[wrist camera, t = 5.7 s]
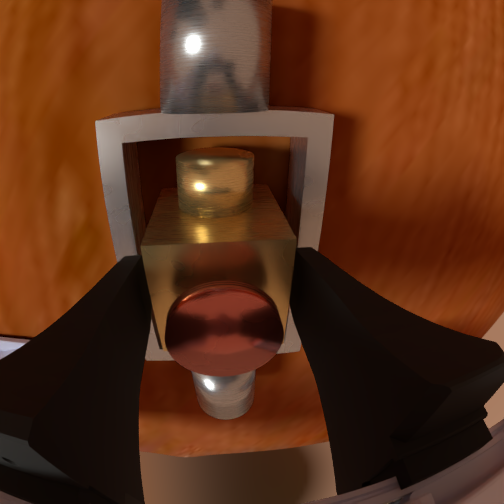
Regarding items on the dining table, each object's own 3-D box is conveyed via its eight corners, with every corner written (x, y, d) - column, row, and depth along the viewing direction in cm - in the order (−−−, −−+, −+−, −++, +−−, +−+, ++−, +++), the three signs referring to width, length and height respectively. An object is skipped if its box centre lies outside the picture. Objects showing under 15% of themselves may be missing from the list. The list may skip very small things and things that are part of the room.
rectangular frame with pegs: (163, 375, 17) (161, 421, 14) (113, 11, 7) (81, -10, 4) (282, 368, 18) (294, 412, 15) (317, 9, 8) (356, -11, 5)
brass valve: (176, 302, 14) (170, 412, 9) (159, 147, 10) (114, 212, 5) (260, 297, 15) (287, 404, 10) (268, 143, 11) (323, 203, 6)
